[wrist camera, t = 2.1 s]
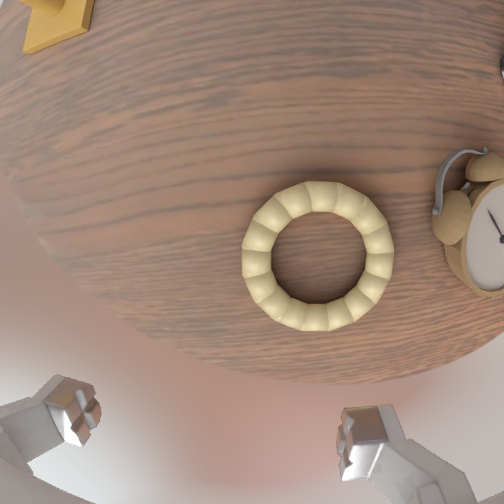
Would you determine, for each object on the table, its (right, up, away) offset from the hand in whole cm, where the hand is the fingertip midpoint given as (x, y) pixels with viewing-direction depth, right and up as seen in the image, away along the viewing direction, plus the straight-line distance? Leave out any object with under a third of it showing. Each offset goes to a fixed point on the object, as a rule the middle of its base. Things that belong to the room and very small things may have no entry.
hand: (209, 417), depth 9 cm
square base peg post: (-20, +32, +13) cm, 40 cm away
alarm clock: (+23, +8, +16) cm, 29 cm away
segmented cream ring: (+7, +4, +17) cm, 19 cm away
